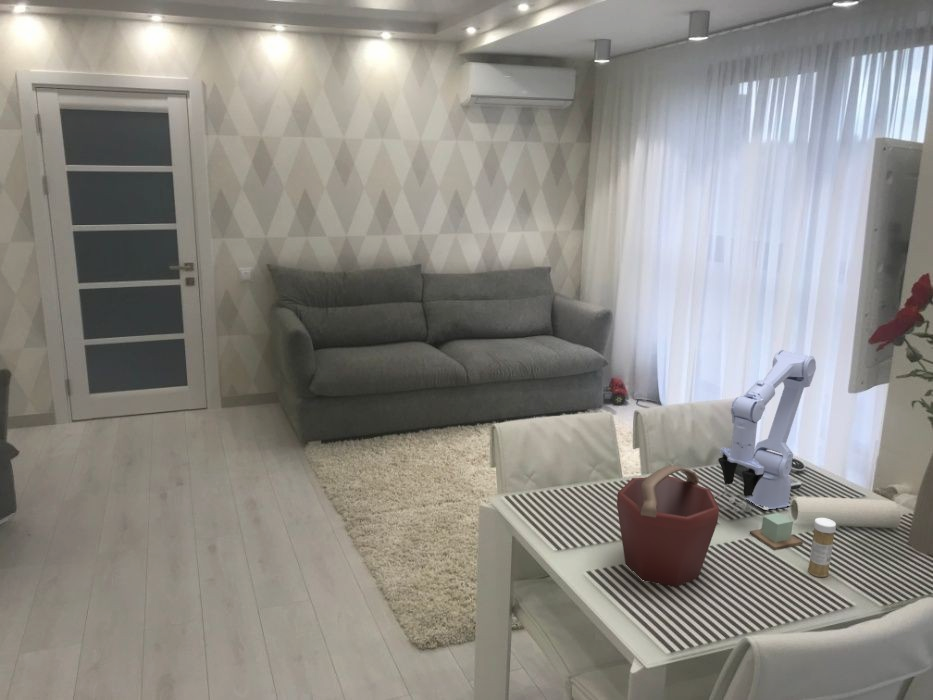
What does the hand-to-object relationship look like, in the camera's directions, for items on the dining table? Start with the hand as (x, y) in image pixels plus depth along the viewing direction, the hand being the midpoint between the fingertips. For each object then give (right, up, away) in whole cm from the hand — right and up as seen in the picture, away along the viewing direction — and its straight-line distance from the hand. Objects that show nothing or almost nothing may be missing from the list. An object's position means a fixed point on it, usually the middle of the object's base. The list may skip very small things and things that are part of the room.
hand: (738, 489), depth 199 cm
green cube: (+7, -11, -7) cm, 15 cm away
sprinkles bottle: (+11, -16, -23) cm, 30 cm away
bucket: (-26, -15, -21) cm, 37 cm away
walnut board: (+7, -12, -7) cm, 15 cm away
